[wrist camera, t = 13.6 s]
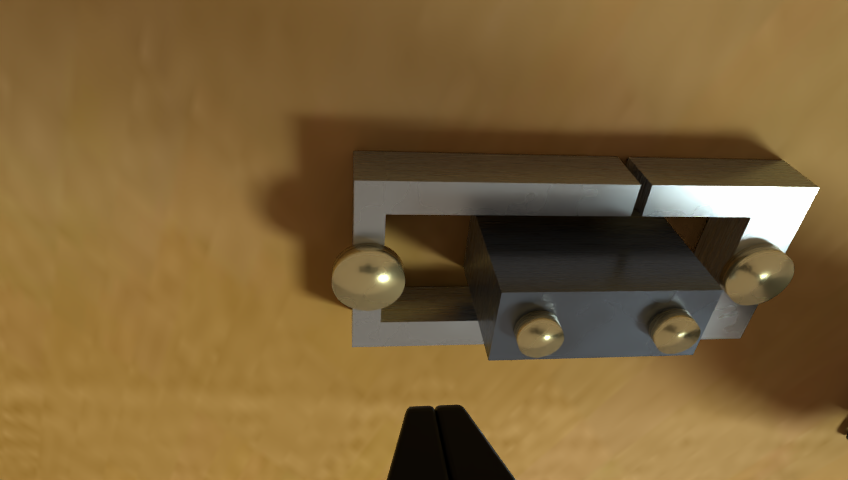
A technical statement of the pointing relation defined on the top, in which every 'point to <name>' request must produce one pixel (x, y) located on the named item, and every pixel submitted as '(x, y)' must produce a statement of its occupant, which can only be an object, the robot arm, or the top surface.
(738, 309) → the end link
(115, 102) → the top surface
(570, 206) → the end link
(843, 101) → the top surface
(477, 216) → the block with brass studs
